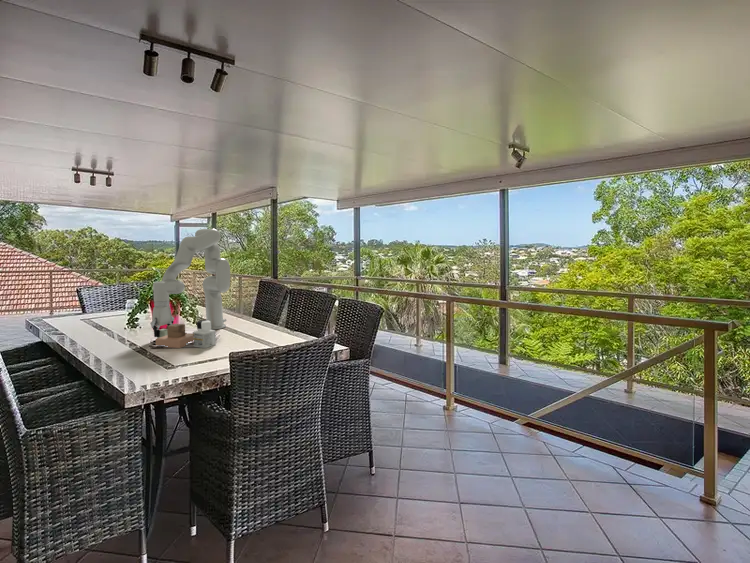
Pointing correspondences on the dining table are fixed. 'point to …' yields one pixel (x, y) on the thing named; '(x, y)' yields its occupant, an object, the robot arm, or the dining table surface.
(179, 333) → the walnut block
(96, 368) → the dining table surface
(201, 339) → the container
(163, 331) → the sage block
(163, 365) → the dining table surface
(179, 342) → the plinth
